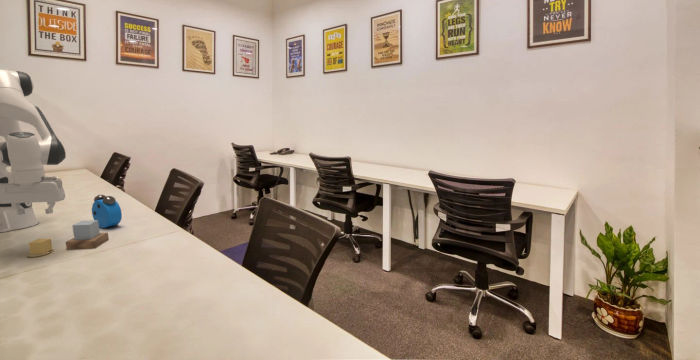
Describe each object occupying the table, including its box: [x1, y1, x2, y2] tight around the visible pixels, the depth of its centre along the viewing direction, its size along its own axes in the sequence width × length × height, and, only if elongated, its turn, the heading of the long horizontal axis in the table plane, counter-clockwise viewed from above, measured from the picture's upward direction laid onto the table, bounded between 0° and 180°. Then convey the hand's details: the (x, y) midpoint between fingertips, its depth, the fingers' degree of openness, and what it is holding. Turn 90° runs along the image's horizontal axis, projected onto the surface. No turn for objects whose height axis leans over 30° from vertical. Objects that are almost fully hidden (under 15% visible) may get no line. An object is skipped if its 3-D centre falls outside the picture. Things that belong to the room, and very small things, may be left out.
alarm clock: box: [91, 194, 123, 229], centre depth 159 cm, size 13×6×15 cm, turn 65°
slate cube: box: [72, 219, 101, 240], centre depth 138 cm, size 6×6×6 cm
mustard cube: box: [28, 238, 53, 255], centre depth 131 cm, size 4×4×4 cm
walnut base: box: [65, 232, 109, 251], centre depth 139 cm, size 10×10×3 cm
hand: (35, 213), depth 128 cm, fingers open, 8 cm apart
